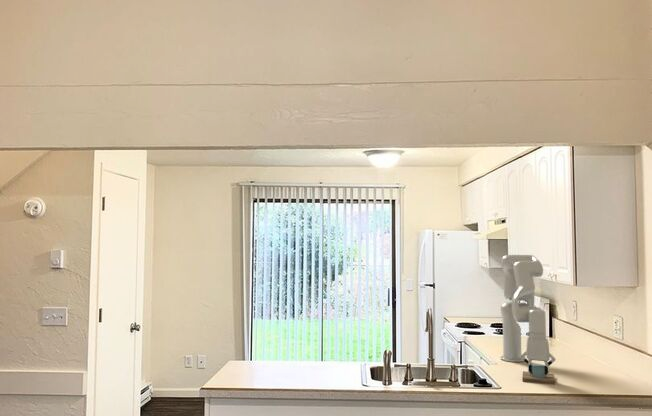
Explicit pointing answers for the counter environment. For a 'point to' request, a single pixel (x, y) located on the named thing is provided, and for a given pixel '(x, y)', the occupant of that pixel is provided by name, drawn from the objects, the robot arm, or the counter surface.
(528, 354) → the robot arm
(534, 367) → the cap
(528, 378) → the brown flat square piece
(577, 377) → the counter surface
